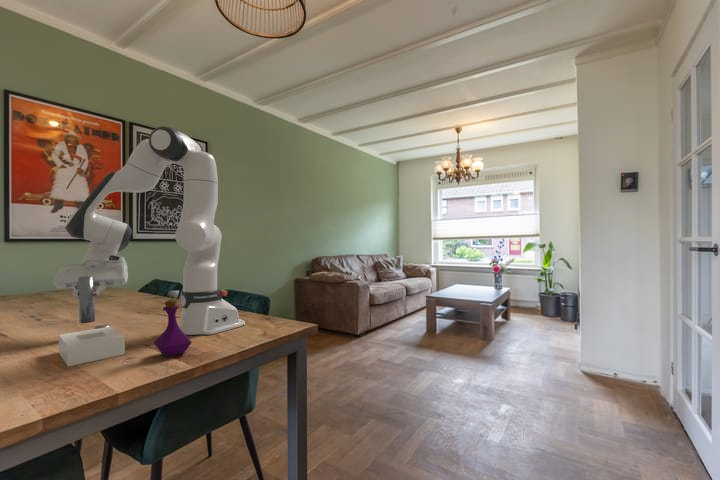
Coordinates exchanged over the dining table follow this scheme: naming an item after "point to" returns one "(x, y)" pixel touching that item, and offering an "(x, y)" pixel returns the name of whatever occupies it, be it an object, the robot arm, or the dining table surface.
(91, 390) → the dining table surface
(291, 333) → the dining table surface
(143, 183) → the robot arm
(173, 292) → the perfume bottle
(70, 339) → the guide block
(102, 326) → the short pin
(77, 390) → the dining table surface
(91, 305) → the tall pin
